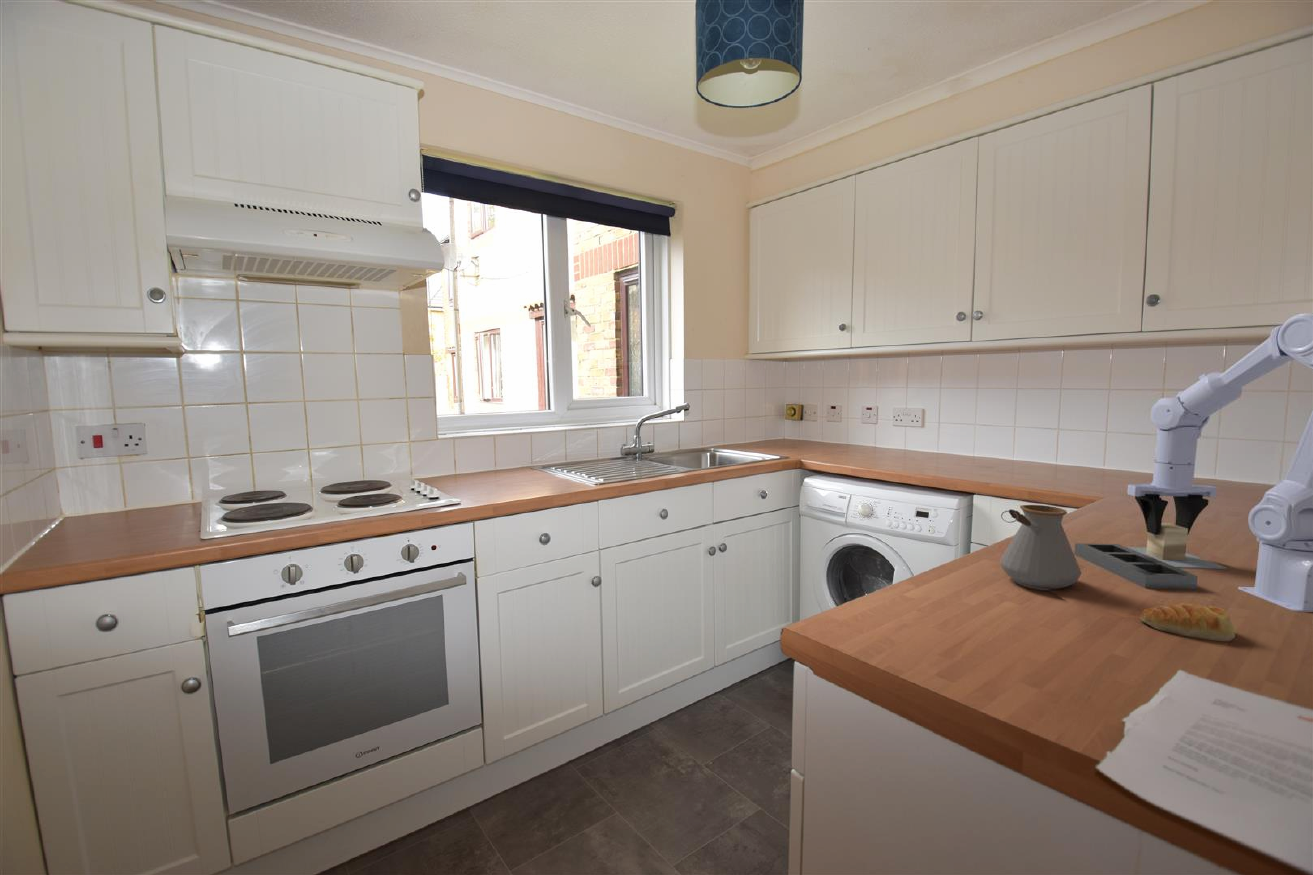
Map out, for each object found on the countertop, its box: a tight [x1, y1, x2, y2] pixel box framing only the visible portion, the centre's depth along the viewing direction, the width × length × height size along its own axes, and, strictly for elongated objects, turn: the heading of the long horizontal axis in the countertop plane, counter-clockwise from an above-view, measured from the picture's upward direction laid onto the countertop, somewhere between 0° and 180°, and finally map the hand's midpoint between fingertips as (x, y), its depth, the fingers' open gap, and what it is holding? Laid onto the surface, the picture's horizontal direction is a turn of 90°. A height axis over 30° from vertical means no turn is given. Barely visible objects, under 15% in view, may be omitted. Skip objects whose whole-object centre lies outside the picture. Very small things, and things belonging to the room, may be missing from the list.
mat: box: [1126, 546, 1228, 570], centre depth 112 cm, size 12×12×1 cm
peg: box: [1146, 522, 1189, 560], centre depth 112 cm, size 4×4×6 cm
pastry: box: [1140, 602, 1236, 642], centre depth 82 cm, size 9×7×4 cm
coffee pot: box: [999, 504, 1082, 592], centre depth 96 cm, size 21×12×15 cm, turn 130°
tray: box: [1073, 542, 1198, 590], centre depth 105 cm, size 18×8×3 cm, turn 176°
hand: (1167, 533), depth 111 cm, fingers open, 5 cm apart
